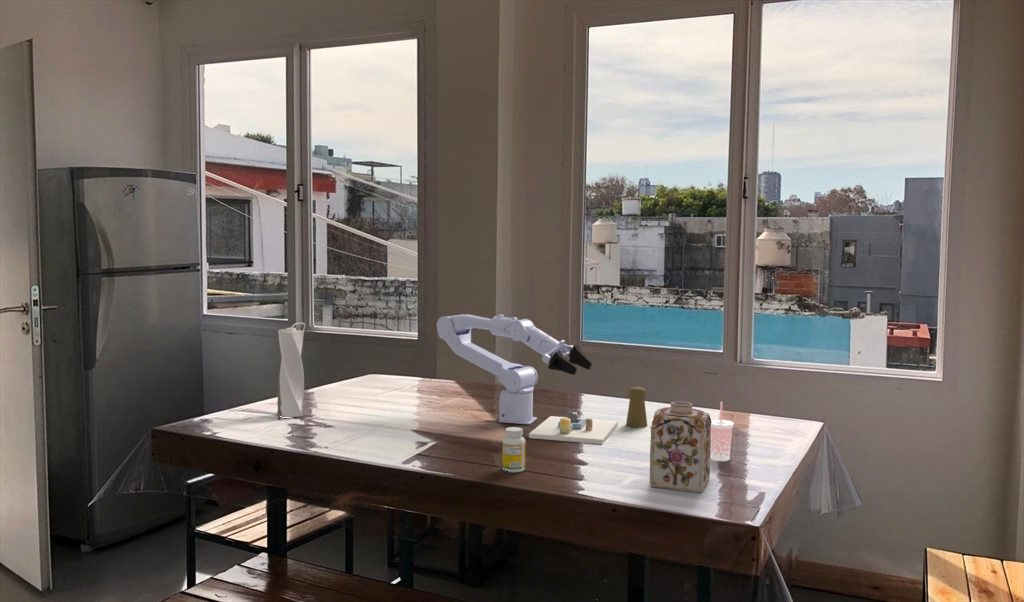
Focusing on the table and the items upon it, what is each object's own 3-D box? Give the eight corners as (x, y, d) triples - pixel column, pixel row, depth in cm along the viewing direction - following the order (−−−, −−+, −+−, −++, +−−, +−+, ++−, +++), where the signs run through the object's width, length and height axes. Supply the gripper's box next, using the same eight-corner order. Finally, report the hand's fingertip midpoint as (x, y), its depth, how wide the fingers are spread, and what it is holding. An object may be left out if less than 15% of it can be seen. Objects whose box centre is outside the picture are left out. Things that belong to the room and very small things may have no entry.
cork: (646, 428, 233) (647, 389, 232) (625, 427, 234) (626, 388, 233) (647, 423, 239) (648, 385, 238) (626, 422, 240) (627, 384, 239)
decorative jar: (648, 487, 179) (649, 405, 177) (658, 473, 190) (660, 395, 188) (704, 494, 175) (706, 410, 173) (711, 478, 186) (713, 399, 184)
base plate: (528, 438, 221) (528, 433, 221) (550, 420, 242) (550, 416, 242) (602, 444, 215) (602, 439, 215) (618, 425, 236) (618, 421, 236)
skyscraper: (305, 412, 251) (304, 320, 248) (308, 418, 243) (306, 323, 241) (277, 414, 248) (275, 321, 246) (278, 420, 240) (276, 324, 238)
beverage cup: (737, 460, 200) (739, 403, 199) (715, 462, 198) (716, 405, 197) (724, 454, 206) (725, 398, 205) (702, 456, 204) (703, 400, 203)
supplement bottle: (515, 474, 188) (515, 433, 187) (497, 469, 192) (497, 429, 191) (530, 469, 192) (530, 428, 192) (512, 464, 196) (512, 425, 195)
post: (566, 431, 229) (566, 413, 228) (568, 428, 231) (568, 411, 231) (576, 431, 228) (576, 414, 228) (578, 429, 231) (578, 411, 230)
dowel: (585, 434, 225) (585, 419, 224) (586, 433, 226) (586, 418, 226) (591, 435, 224) (591, 420, 224) (592, 433, 226) (593, 418, 225)
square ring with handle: (564, 421, 234) (564, 409, 233) (586, 423, 232) (586, 411, 231) (552, 431, 222) (552, 419, 221) (575, 433, 220) (575, 421, 219)
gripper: (534, 337, 226) (573, 361, 220) (564, 328, 238) (601, 351, 231) (527, 358, 229) (565, 383, 222) (556, 349, 241) (593, 373, 234)
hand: (583, 368), depth 227 cm, fingers open, 7 cm apart
